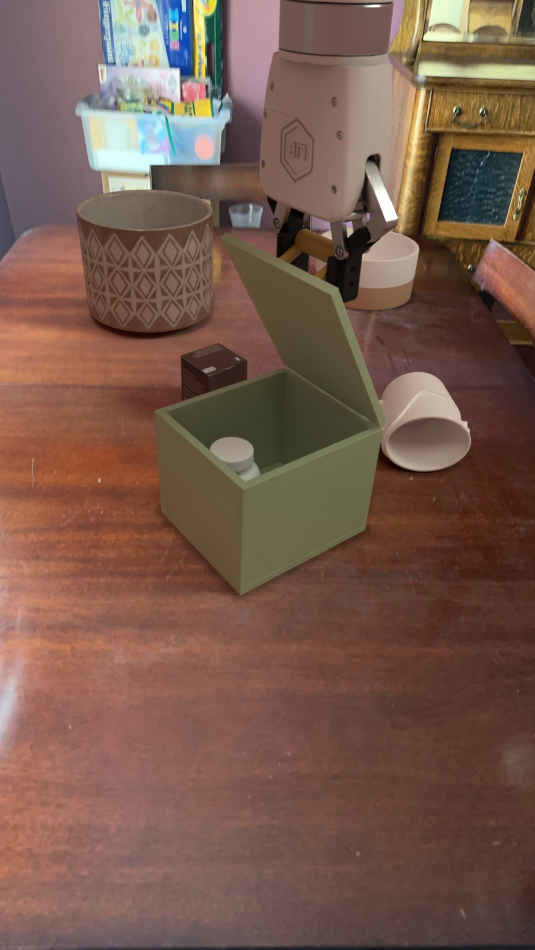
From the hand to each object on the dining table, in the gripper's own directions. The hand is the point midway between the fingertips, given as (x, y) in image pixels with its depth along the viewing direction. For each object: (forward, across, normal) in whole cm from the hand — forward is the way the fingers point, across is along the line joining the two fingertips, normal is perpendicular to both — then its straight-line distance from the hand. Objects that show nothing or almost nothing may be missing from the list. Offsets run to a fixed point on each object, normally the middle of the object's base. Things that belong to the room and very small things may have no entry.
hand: (315, 286), depth 57 cm
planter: (+25, -49, +10) cm, 56 cm away
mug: (+25, -1, +17) cm, 30 cm away
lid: (+4, 0, -1) cm, 4 cm away
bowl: (+25, -39, +46) cm, 66 cm away
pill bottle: (+23, 0, -9) cm, 25 cm away
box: (+24, -20, +3) cm, 32 cm away
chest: (+24, 0, -5) cm, 24 cm away
